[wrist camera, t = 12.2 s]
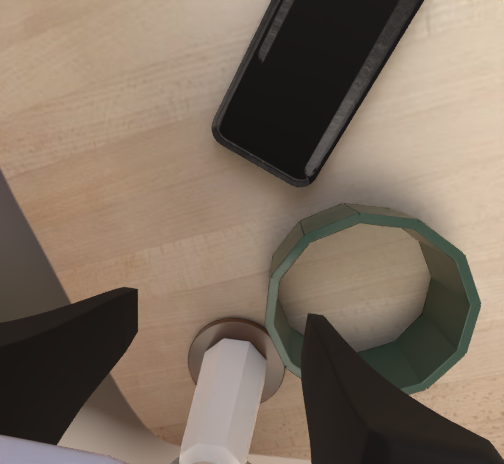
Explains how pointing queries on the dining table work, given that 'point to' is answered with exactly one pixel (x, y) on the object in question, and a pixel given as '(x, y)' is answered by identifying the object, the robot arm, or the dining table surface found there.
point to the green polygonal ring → (421, 331)
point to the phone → (307, 80)
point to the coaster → (243, 332)
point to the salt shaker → (224, 405)
